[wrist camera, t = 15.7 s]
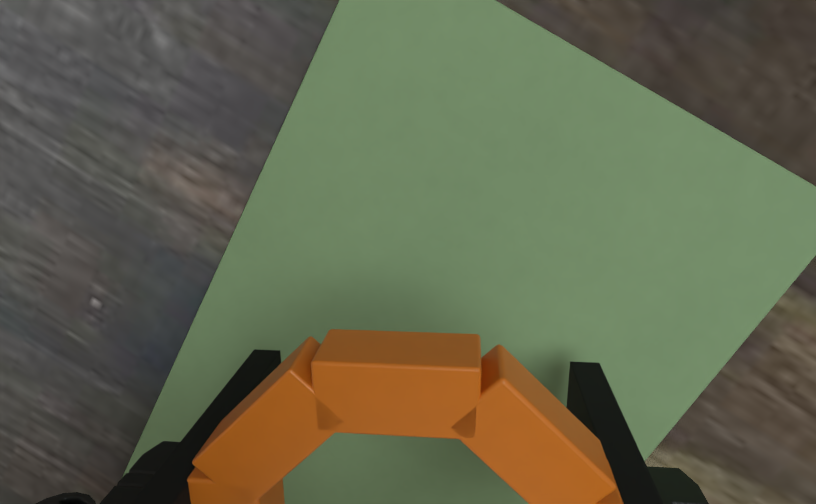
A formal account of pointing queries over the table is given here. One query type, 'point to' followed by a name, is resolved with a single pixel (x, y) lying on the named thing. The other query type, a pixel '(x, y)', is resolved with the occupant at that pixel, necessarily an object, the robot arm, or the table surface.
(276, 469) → the ring
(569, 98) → the mat
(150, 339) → the table surface
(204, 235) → the table surface
